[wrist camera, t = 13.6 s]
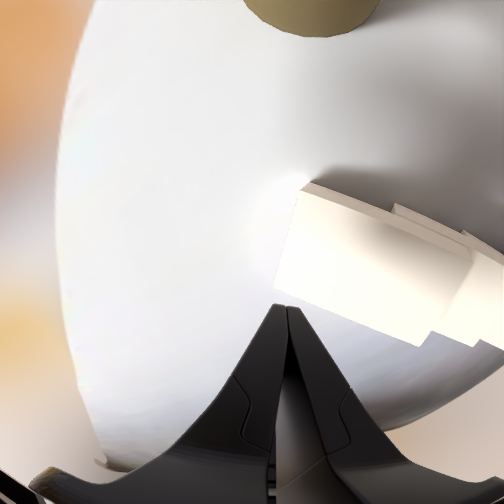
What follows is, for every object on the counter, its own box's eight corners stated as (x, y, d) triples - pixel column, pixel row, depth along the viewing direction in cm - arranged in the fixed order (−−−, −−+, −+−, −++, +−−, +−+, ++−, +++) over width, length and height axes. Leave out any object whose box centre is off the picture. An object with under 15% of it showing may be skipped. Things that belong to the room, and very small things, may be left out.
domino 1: (309, 182, 13) (465, 247, 11) (283, 271, 15) (418, 326, 13) (299, 190, 12) (473, 263, 9) (272, 286, 14) (419, 346, 12)
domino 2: (394, 202, 13) (512, 262, 11) (359, 283, 16) (468, 329, 14) (396, 212, 12) (522, 276, 10) (355, 299, 14) (472, 347, 12)
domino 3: (462, 229, 13) (540, 282, 12) (421, 296, 16) (500, 336, 14) (469, 240, 12) (549, 295, 10) (424, 312, 15) (505, 351, 13)
